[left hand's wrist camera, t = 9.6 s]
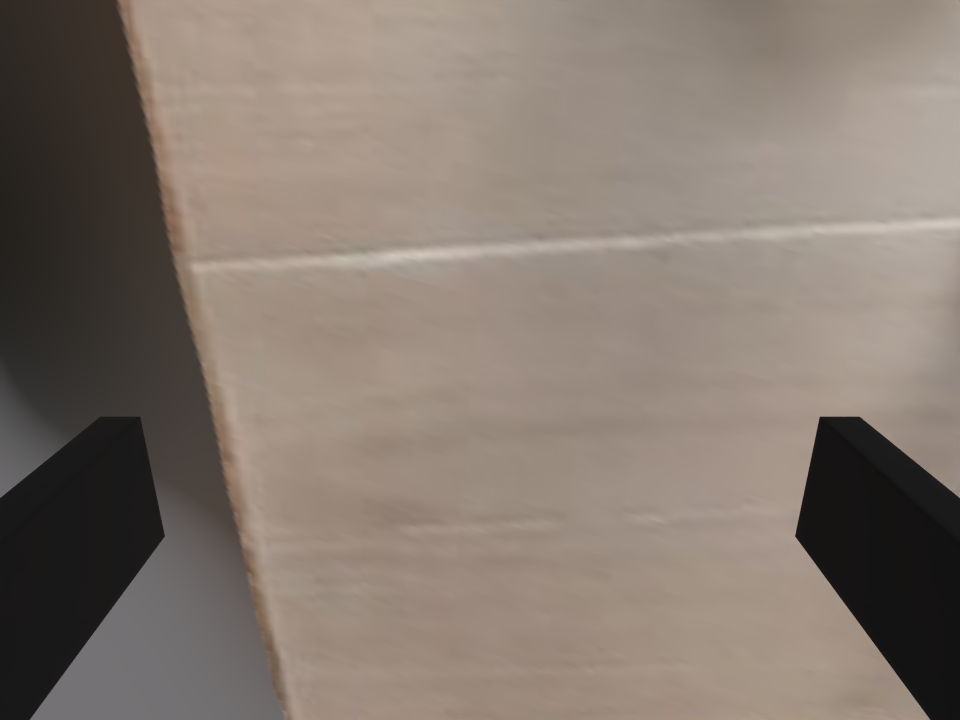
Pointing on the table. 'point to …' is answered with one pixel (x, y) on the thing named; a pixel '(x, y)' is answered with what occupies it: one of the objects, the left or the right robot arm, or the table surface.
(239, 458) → the table surface
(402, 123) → the table surface
